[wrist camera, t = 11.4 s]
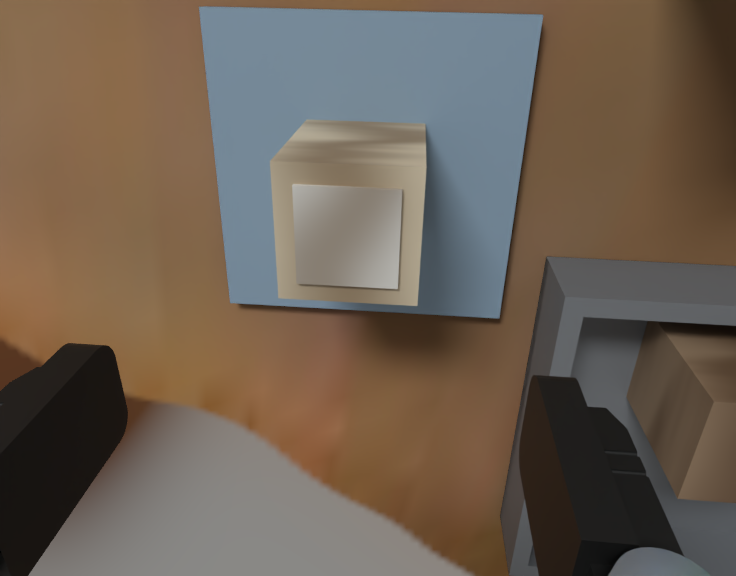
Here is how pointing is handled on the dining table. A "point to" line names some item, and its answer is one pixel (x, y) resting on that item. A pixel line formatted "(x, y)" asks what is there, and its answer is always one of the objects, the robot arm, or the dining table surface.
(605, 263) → the parts bin
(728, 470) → the walnut block
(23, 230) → the dining table surface
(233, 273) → the placing board
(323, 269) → the beige box with label
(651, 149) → the dining table surface
